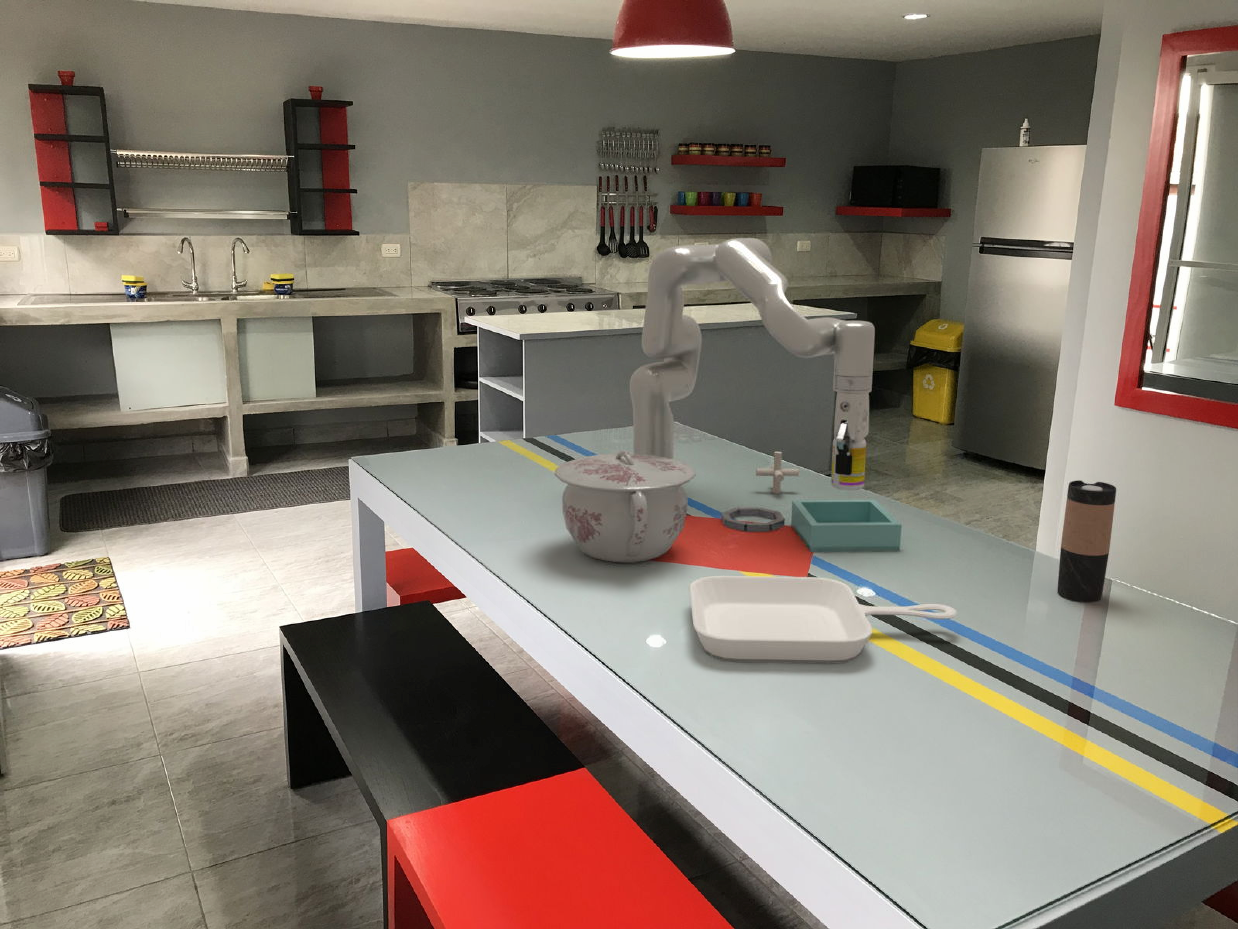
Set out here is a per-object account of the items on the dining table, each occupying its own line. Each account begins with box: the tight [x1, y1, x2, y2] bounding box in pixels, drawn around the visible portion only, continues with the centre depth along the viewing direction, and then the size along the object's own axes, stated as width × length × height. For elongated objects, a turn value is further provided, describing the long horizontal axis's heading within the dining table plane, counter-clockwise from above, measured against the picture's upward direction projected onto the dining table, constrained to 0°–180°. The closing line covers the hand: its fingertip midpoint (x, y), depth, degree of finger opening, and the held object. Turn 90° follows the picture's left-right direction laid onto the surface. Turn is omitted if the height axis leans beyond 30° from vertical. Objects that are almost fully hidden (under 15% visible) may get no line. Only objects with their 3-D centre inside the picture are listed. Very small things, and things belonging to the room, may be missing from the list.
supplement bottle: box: [830, 437, 867, 491], centre depth 203 cm, size 7×7×13 cm
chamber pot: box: [553, 449, 696, 564], centre depth 195 cm, size 28×28×21 cm
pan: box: [688, 575, 958, 664], centre depth 160 cm, size 27×42×5 cm, turn 88°
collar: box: [720, 506, 786, 533], centre depth 217 cm, size 13×13×2 cm
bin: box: [790, 499, 903, 553], centre depth 207 cm, size 18×18×6 cm
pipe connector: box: [755, 451, 800, 495], centre depth 240 cm, size 10×10×10 cm
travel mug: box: [1057, 479, 1117, 604], centre depth 173 cm, size 8×8×20 cm
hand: (848, 469), depth 204 cm, fingers closed on supplement bottle, 6 cm apart
